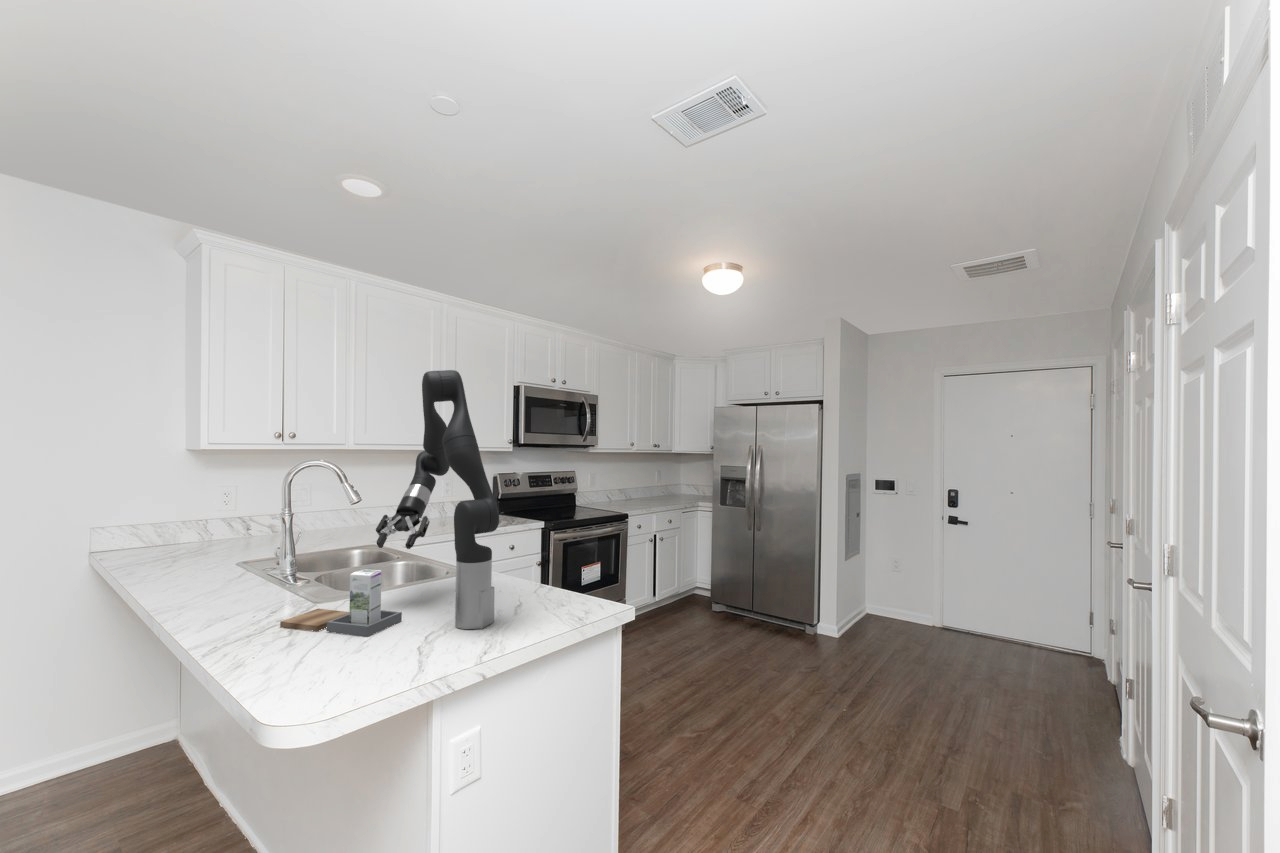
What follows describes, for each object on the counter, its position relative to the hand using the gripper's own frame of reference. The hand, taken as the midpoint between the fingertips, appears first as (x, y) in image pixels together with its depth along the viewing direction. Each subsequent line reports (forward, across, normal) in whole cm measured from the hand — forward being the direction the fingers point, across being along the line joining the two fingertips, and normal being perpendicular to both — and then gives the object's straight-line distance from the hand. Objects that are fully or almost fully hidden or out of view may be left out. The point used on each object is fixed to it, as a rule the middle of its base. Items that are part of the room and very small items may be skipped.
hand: (393, 546), depth 161 cm
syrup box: (+22, 0, +4) cm, 23 cm away
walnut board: (+21, -15, +5) cm, 26 cm away
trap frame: (+22, 0, +4) cm, 22 cm away
